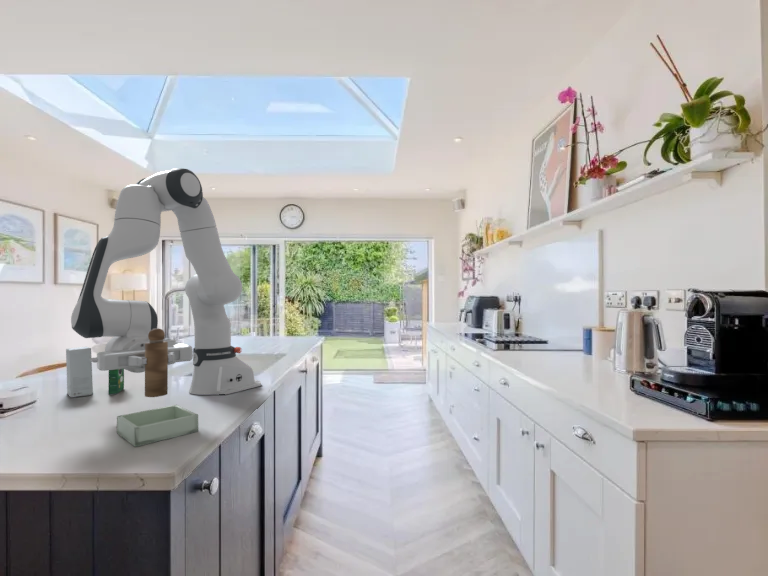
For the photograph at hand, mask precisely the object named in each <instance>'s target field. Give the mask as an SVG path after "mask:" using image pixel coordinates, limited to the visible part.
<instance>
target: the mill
mask: <svg viewBox="0 0 768 576" xmlns="http://www.w3.org/2000/svg"><path fill="white" fill-rule="evenodd" d="M165 333H166V332H165V331H164V330H163V329H161V328H159V327H157V328H155V329H152V330H151V331H150V332H149V334H148V338H149V340H150V342H147V343H145V357H146V358H147V361H146V362H147V365H145V372H144V397H145V398H157V397H158V398H159V397H164V396H166V395H168V390H169V389H168V388H169V387H168V385H169V384H168V383H169V382H168V379H169V378H168V377H169V376H168V373H169V372H168V368H169V367H168V366H169V365H168V342H165V341H163V339H165V337H166V334H165Z"/></svg>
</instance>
